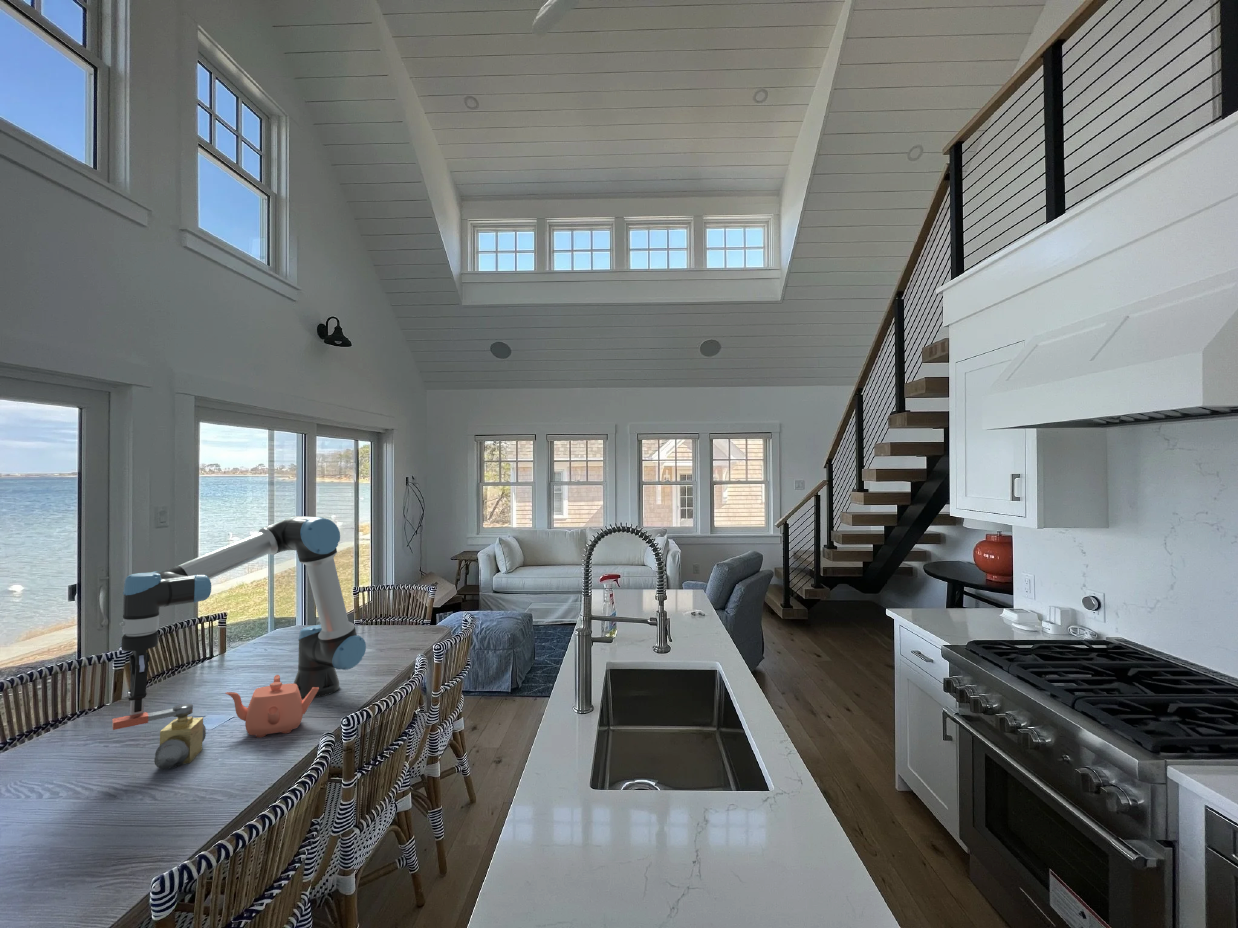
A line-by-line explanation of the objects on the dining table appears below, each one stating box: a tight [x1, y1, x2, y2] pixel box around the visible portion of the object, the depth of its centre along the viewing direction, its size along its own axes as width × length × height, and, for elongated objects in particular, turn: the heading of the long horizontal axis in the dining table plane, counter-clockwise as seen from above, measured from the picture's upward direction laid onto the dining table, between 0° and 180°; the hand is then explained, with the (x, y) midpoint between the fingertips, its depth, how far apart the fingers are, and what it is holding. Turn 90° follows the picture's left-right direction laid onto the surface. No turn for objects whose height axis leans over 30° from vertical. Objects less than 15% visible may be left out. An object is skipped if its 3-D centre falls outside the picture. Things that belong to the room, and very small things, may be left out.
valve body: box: [153, 715, 207, 770], centre depth 161 cm, size 18×7×12 cm, turn 15°
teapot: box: [225, 674, 319, 738], centre depth 181 cm, size 18×18×14 cm
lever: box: [111, 703, 194, 731], centre depth 157 cm, size 17×4×2 cm, turn 133°
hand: (136, 722), depth 157 cm, fingers closed
